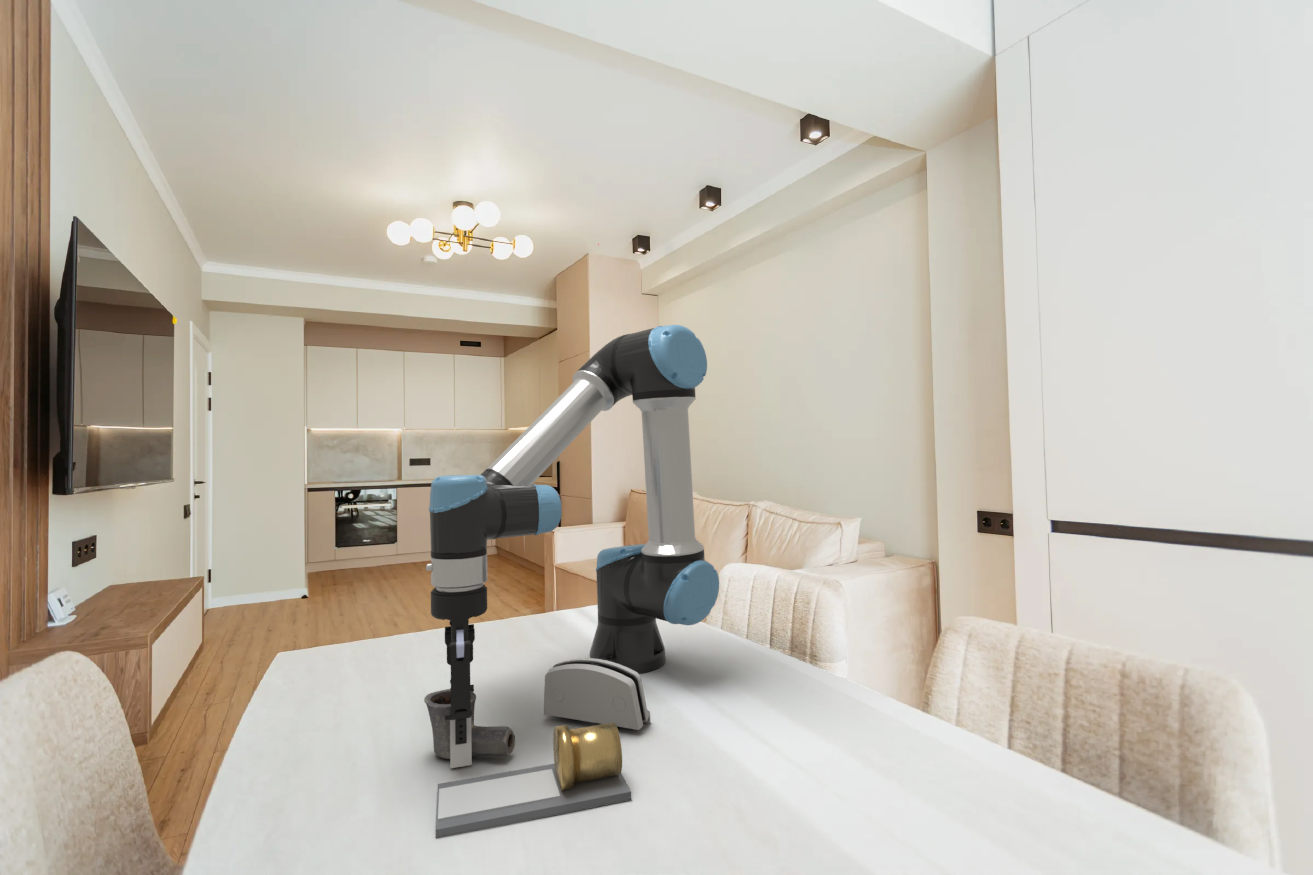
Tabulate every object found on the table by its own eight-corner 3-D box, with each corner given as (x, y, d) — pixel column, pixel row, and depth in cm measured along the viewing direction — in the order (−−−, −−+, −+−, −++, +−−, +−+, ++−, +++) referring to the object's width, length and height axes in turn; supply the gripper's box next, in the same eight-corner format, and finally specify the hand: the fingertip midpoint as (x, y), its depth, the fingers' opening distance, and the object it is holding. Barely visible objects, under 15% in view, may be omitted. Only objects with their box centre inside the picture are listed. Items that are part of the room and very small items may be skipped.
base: (611, 760, 84) (611, 751, 84) (631, 799, 75) (631, 789, 75) (437, 791, 77) (437, 782, 77) (435, 838, 68) (435, 827, 68)
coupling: (610, 763, 83) (608, 708, 83) (624, 791, 76) (622, 731, 76) (553, 773, 80) (552, 716, 81) (563, 803, 74) (562, 741, 74)
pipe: (502, 770, 82) (500, 710, 82) (415, 761, 85) (413, 703, 85) (521, 746, 88) (519, 690, 88) (439, 739, 91) (437, 685, 91)
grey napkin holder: (653, 723, 96) (648, 660, 95) (640, 739, 91) (636, 674, 91) (558, 708, 102) (553, 649, 101) (542, 723, 98) (537, 661, 97)
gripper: (432, 575, 95) (434, 727, 95) (427, 604, 77) (429, 794, 76) (483, 571, 98) (485, 720, 97) (490, 598, 79) (492, 783, 79)
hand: (460, 752), depth 87 cm, fingers closed on pipe, 7 cm apart
